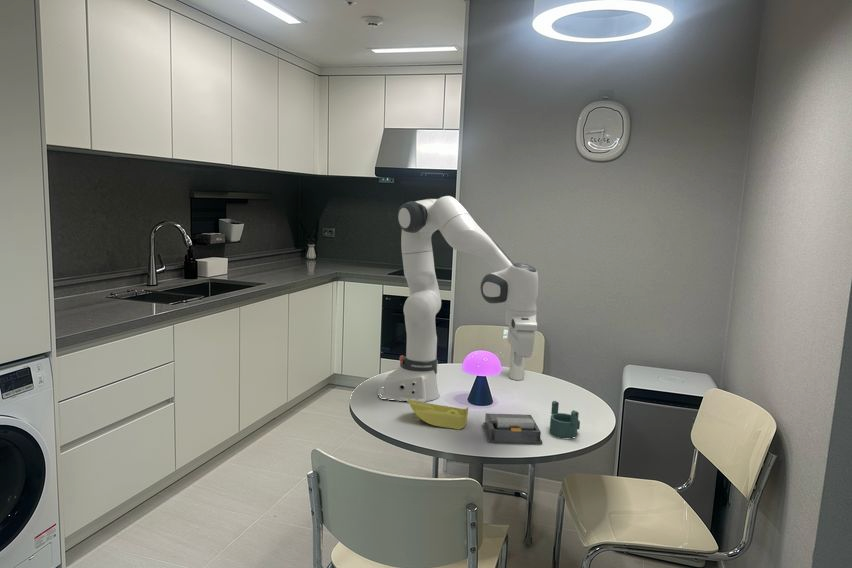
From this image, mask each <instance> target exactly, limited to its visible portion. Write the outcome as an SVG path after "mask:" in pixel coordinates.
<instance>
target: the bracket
mask: <svg viewBox="0 0 852 568" xmlns="http://www.w3.org/2000/svg"><path fill="white" fill-rule="evenodd" d="M559 404H560V403H559V402H558V401H557V400H553V401H552V402H551V411H550V412H551V414H550V421H549V423H550V424H549V434H550V435H551V436H553V437H555V438H558V437H559V439H563V438H571V439H574V438H573V437H575V438H576V437H577V436H578V430H580V425H581V421H580V420H579V415H580V413H579V412H578V411H576V410H574V409H573V410H571V412H570V414H569V413H564V412H562V413H561V412H559V407H560V406H559Z"/></svg>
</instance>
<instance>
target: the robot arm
mask: <svg viewBox="0 0 852 568" xmlns="http://www.w3.org/2000/svg"><path fill="white" fill-rule="evenodd" d="M397 222H398V225H399V227H400V229H401V236H400V237H401V240H400V241H401V242H400V244H401V245H400V246H401V257H402V265H403V275H404V277H405V279H406V282H407V286H408V289H409V296H408V297H407V298H406V300H405V302H404V305H403V310H402V311H403V315H404V324H405V332H406V348H405V349H406V350H405V352H406V353H405V355H403V354H402V355H400V356H399V361H400V364H399V367H398V368H395V370H393V371H392V372H390V373H388V375H387V376H386V378H385V380H384V384H383V386H384V388H381V387H380V388H381V389H380V388H379V389H378V391H377V395H378V394H379V396H380V397H381V398H386V399H394V400H401V401H407V402H406V403H409V401H408V398H410V400H413V401H417V402H422V403H427V402H430V401H434V400H436V399H438V398H439V397H440V393H439V389H438V382H437V373H438V365H439V364H438V363H439V361H438V358H437V351H438V349H437V348H438V347H437V346H438V335H437V329H436V328H437V327H436V316H437V314H438V313H439V312H440V310H441V308H442V298H441V294H440V293H441V292H440V287H439V283H438V280H437V275H436V270H435V261H434V259H435V258H434V251H433V245H432V243H433V242H432V236H433V234H434V233H435V232H437V233H438V234H439V233H440V234H441V236H442V237H443V238H444V240H445V241H446V243H447V244H448V245H449V246H450V247H451V248H452V249H454V250H455V251H458V252H461V253H466V254H469V255H473V256H476V257H479V258H481V259H483V261H485V262H486V263H487V264H488V265H489V266H490V267H491V269H492V270H493V271H494V272H490V273H487V274H485V276H483V277H482V280H481V283H480V289H479V290H480V294H481V297H482V299H484V301H486V302H487V303H489V304H494V305H499V304H505V305H506V309H505V324H506V326H508V332H507V342H508V343H509V345H510V347H511V346H512V348H513V349H514V363H515V364H516V366H521V365H522V359H523V357H524V358H525V359H527V358H531V357H532V355H533V351H534V344H535V339H536V338H535V335H536V333H535V332H537V331H538V322H537V313H538V311H537V310H538V308H537V299H538V297H539V274H538V270H537V269H536V268H535V267H534V266H533V265H531V264H527V263H522V262H521V263H520V262H517V263H516V262H513V260H511V258H510V257H509V256H508V255H507V254H506V253H505V251H504V250H503V249H502V248H501V247H500V246H499V244H498V243H496V241H495V240H493V239H492V237H491V236H489V235H488V234H487V233H486V232H485V231H484V230H483V229H482V228H481V227H480V226H479V224H477V223H476V221H475V220H474V219H473V216H471V214H470V213H469V212H468V211H467V209H466V208H465V207H464V206H463V204H462V203H460V202H459V201H458V200H457V199H456V198H455V197H453V196H451V195H445V196H440V197H439V198H426V199H421V200H415V201H413V200H412V201H411V200H410V201H407V202H404V203H403V204H402V205H400V207H399V208H398V211H397ZM380 394H381V395H382V396H381V395H380Z"/></svg>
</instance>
